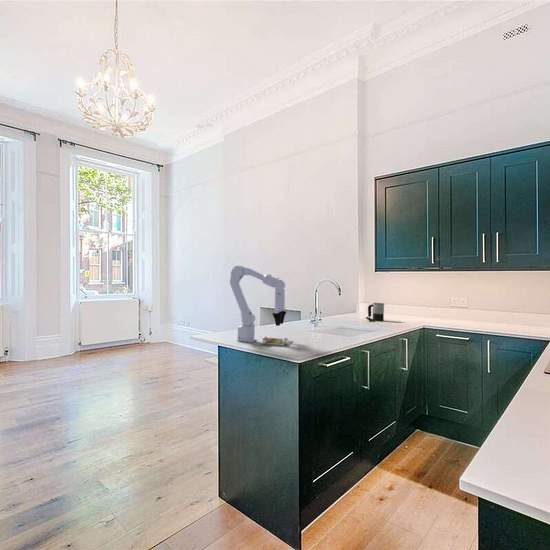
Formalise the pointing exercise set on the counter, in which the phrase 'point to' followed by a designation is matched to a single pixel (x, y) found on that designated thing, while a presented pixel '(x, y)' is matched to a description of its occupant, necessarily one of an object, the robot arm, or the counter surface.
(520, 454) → the counter surface
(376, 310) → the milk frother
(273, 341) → the gate
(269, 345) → the mat
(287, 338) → the gate posts
